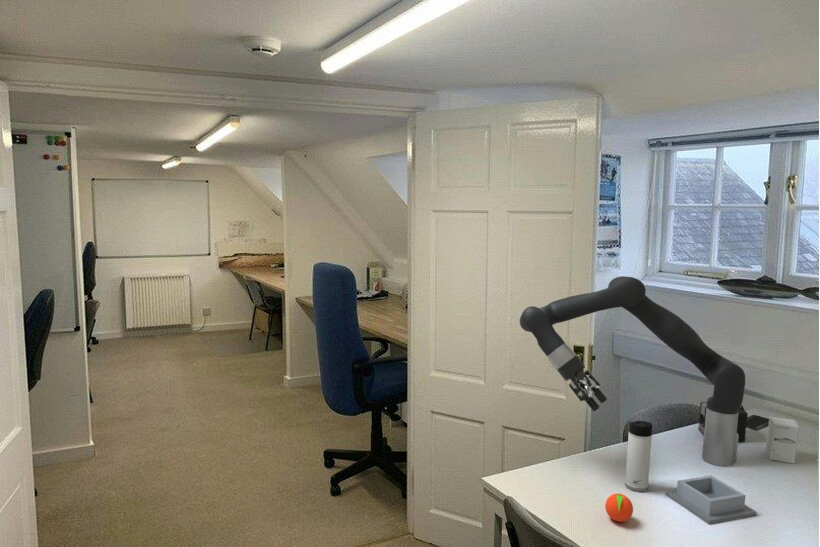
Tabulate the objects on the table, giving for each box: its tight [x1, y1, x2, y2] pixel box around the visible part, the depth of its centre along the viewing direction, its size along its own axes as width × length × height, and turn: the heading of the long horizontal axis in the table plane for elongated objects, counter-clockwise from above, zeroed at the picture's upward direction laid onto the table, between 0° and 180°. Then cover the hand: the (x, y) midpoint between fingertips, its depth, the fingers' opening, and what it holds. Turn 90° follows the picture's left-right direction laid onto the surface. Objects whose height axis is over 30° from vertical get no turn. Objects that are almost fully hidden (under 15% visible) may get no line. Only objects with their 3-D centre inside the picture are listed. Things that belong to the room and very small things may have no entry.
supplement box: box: [765, 416, 800, 464], centre depth 196 cm, size 7×7×13 cm
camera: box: [697, 401, 749, 443], centre depth 214 cm, size 11×14×15 cm
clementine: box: [604, 492, 634, 523], centre depth 156 cm, size 8×7×7 cm
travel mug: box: [624, 420, 653, 493], centre depth 174 cm, size 6×7×20 cm
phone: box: [746, 414, 769, 431], centre depth 227 cm, size 8×1×15 cm
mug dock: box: [664, 474, 757, 525], centre depth 165 cm, size 16×16×5 cm
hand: (600, 405), depth 179 cm, fingers open, 8 cm apart
